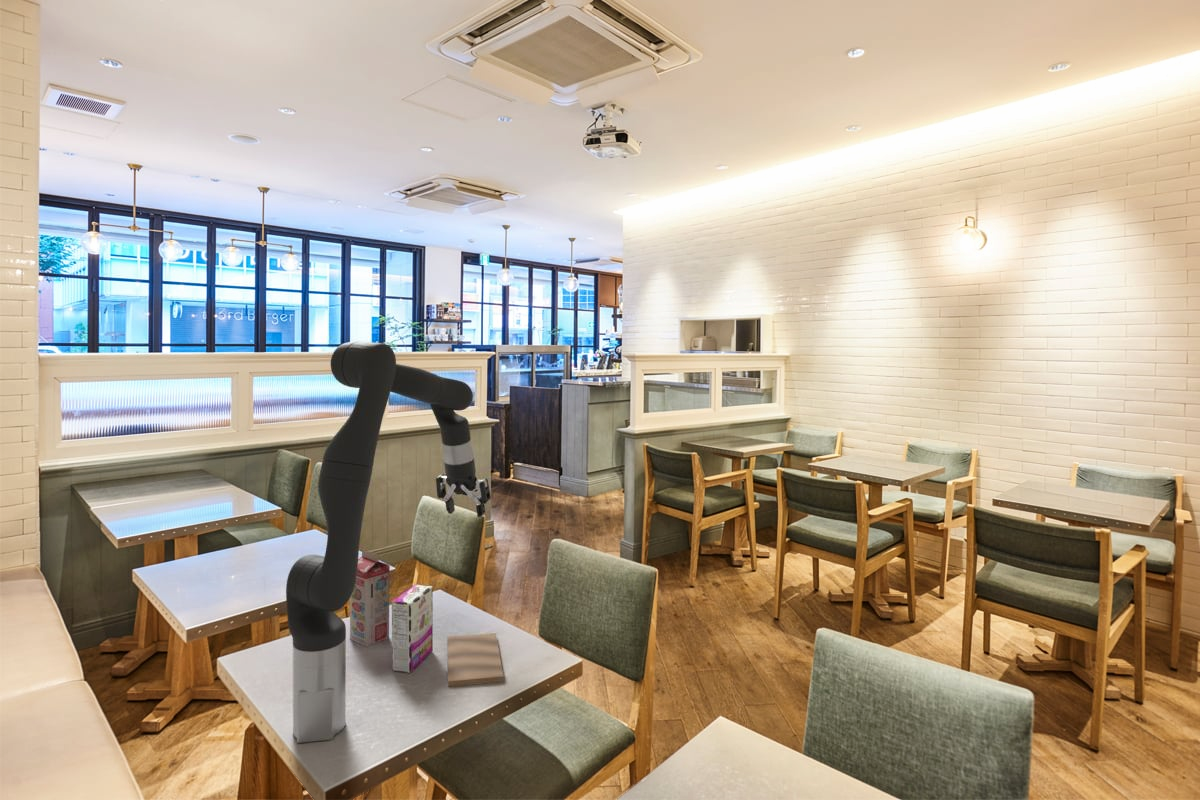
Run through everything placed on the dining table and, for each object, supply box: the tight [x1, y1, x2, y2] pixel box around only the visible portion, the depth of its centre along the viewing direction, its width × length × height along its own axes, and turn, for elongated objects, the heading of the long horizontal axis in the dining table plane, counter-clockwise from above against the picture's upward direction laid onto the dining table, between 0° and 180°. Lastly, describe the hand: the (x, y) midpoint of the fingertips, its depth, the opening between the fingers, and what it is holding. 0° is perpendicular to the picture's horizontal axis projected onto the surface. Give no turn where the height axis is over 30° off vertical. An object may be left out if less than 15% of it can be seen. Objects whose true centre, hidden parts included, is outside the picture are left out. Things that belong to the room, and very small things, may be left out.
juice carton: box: [349, 549, 391, 648], centre depth 160 cm, size 7×7×22 cm
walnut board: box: [446, 632, 505, 687], centre depth 151 cm, size 22×12×1 cm, turn 14°
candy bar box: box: [391, 584, 434, 674], centre depth 149 cm, size 11×5×16 cm, turn 168°
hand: (466, 514), depth 167 cm, fingers open, 8 cm apart
